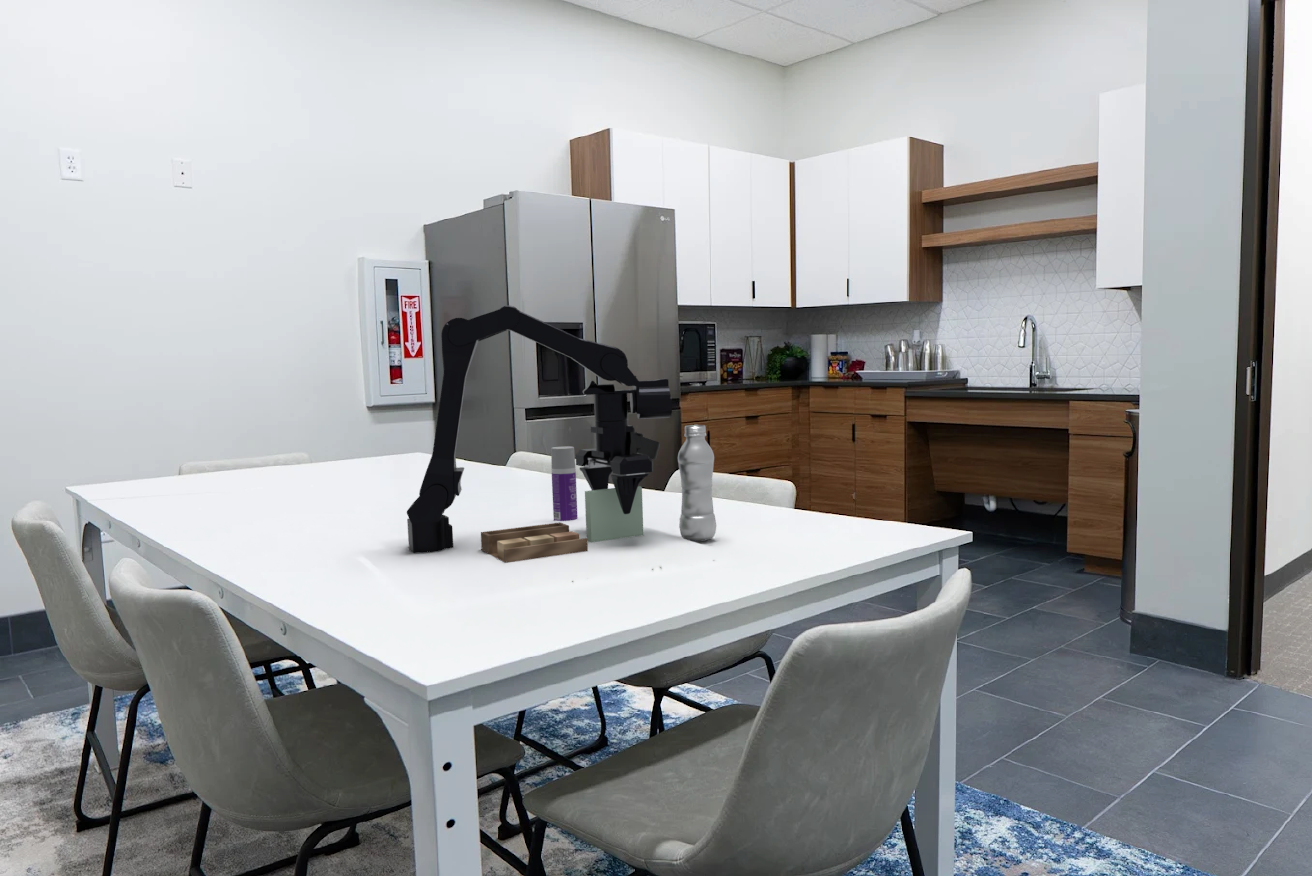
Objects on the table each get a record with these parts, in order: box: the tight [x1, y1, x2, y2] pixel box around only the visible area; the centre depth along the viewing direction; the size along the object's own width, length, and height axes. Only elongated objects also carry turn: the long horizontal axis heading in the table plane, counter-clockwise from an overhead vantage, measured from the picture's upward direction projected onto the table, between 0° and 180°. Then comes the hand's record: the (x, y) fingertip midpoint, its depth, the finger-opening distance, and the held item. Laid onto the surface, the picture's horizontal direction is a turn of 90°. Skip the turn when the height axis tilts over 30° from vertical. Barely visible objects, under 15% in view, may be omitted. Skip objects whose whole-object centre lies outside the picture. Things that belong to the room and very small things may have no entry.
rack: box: [480, 521, 589, 564], centre depth 150 cm, size 14×12×4 cm
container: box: [550, 445, 579, 522], centre depth 178 cm, size 5×5×15 cm
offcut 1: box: [497, 538, 528, 559], centre depth 145 cm, size 4×3×2 cm
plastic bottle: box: [677, 424, 717, 543], centre depth 157 cm, size 6×7×20 cm
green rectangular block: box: [584, 485, 644, 543], centre depth 158 cm, size 10×2×9 cm, turn 119°
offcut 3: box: [550, 530, 580, 542], centre depth 150 cm, size 4×3×2 cm
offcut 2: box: [524, 535, 554, 546], centre depth 148 cm, size 4×3×2 cm
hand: (614, 510), depth 158 cm, fingers open, 9 cm apart
